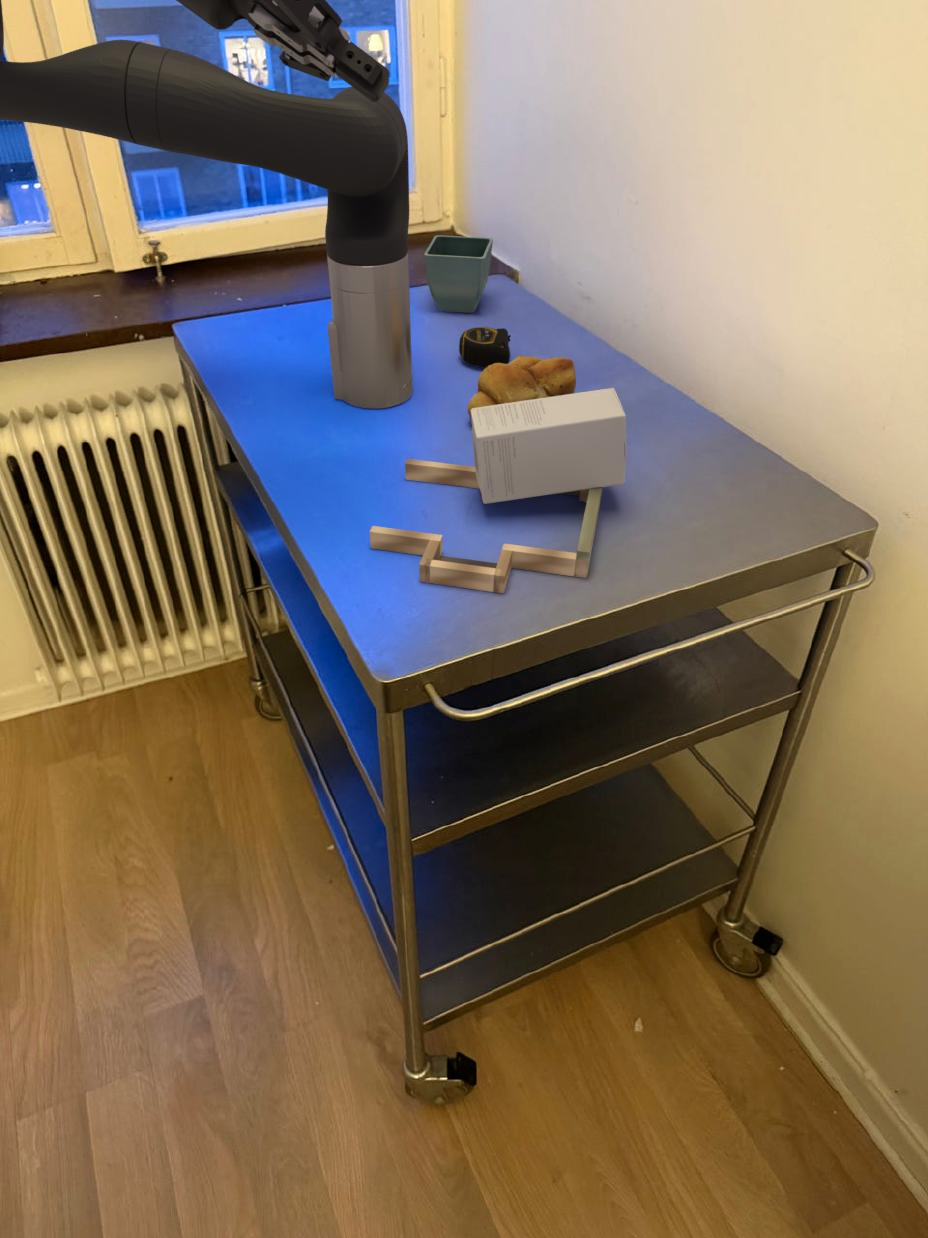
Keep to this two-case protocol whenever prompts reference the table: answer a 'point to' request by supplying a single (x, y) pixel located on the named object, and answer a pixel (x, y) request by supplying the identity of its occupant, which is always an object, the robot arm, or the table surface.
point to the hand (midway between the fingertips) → (383, 87)
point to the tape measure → (485, 346)
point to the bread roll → (524, 381)
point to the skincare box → (549, 445)
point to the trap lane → (511, 556)
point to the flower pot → (458, 271)
